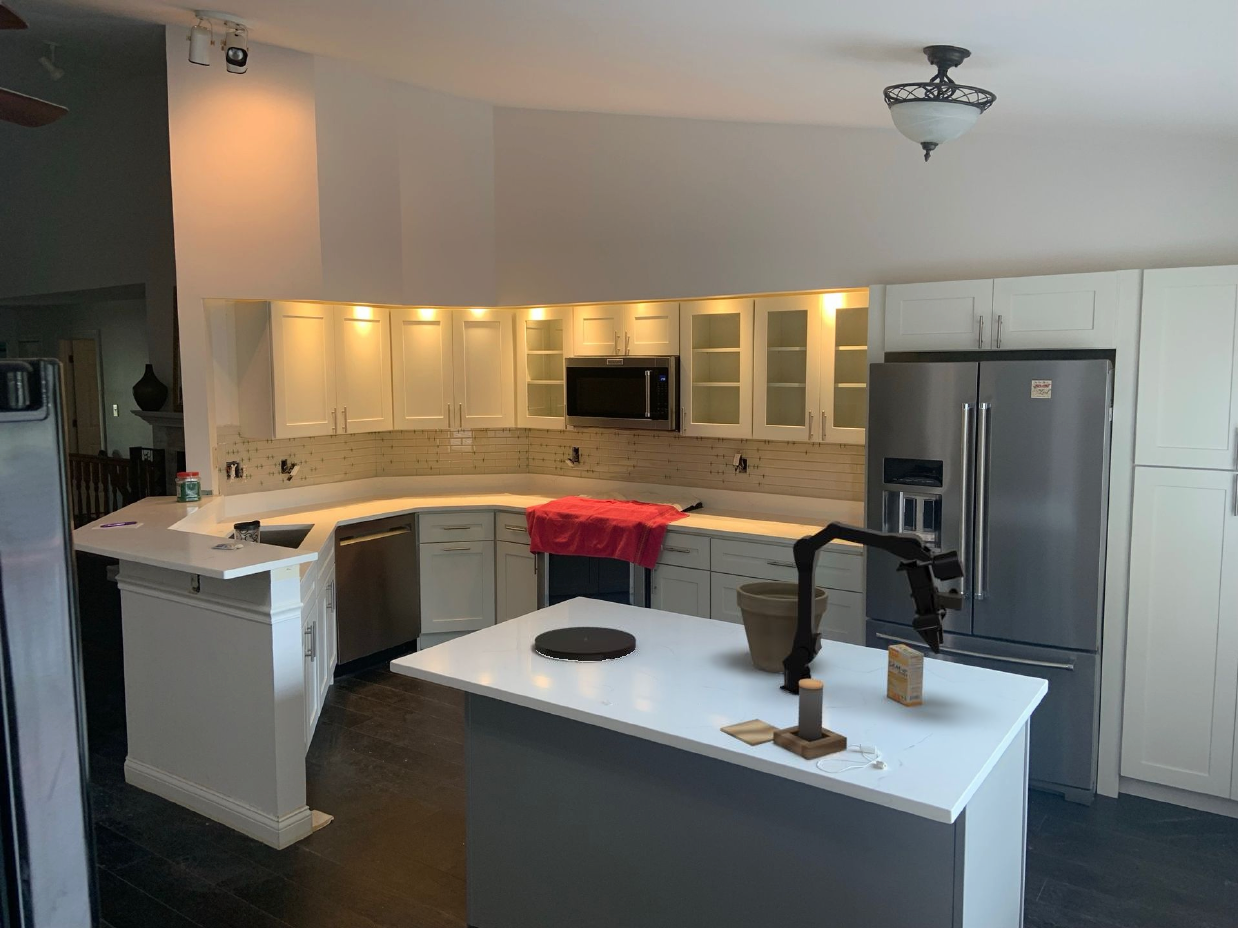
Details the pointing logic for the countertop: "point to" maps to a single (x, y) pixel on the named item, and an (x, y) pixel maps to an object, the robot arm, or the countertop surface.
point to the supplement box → (905, 675)
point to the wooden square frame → (810, 749)
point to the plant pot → (773, 619)
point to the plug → (810, 709)
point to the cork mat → (751, 731)
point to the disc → (585, 643)
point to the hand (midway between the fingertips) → (939, 648)
